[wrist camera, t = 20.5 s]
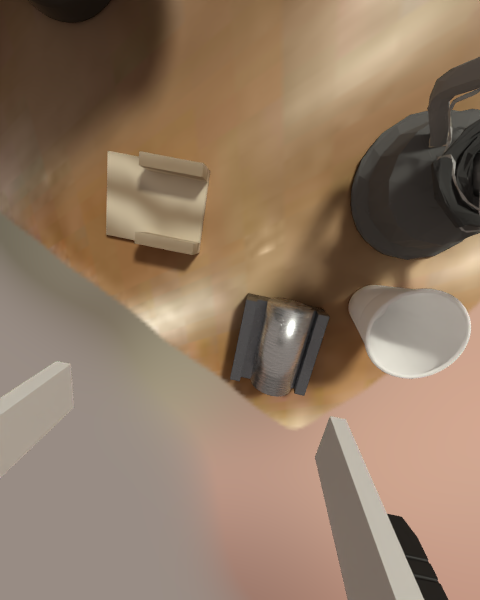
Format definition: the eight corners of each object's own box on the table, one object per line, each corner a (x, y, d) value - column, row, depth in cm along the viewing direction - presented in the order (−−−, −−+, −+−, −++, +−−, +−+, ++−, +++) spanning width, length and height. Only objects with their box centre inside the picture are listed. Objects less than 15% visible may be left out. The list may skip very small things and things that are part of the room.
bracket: (110, 152, 32) (92, 142, 28) (210, 170, 31) (203, 163, 28) (108, 234, 35) (91, 234, 31) (199, 252, 34) (192, 254, 31)
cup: (328, 331, 36) (355, 372, 25) (342, 267, 33) (379, 283, 22) (394, 339, 35) (451, 385, 25) (414, 275, 32) (488, 295, 22)
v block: (248, 293, 35) (246, 299, 32) (323, 308, 35) (329, 316, 31) (232, 366, 39) (230, 379, 36) (300, 381, 39) (304, 395, 35)
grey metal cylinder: (251, 366, 37) (249, 390, 31) (267, 294, 33) (268, 307, 28) (288, 374, 37) (293, 400, 31) (308, 303, 33) (318, 317, 28)
